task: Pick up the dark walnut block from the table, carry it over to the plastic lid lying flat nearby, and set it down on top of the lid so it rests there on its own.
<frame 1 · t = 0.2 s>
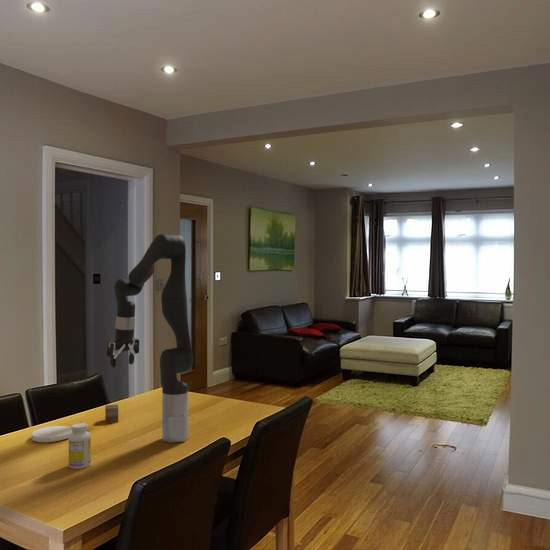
hand: (122, 365, 220), 22 cm above the table, tool pointing down, fingers open, 8 cm apart
supplement bottle: (79, 466, 169), on the table
plastic lid: (52, 439, 197), on the table
walnut block: (111, 421, 218), on the table
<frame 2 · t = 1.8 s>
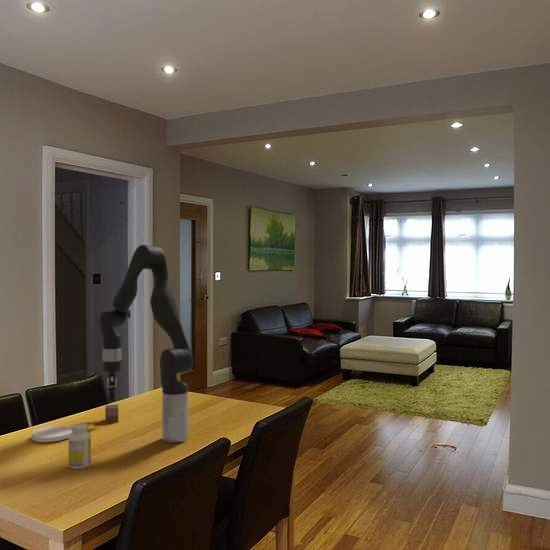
hand: (111, 398, 218), 9 cm above the table, tool pointing down, fingers open, 8 cm apart
nothing on the table moved.
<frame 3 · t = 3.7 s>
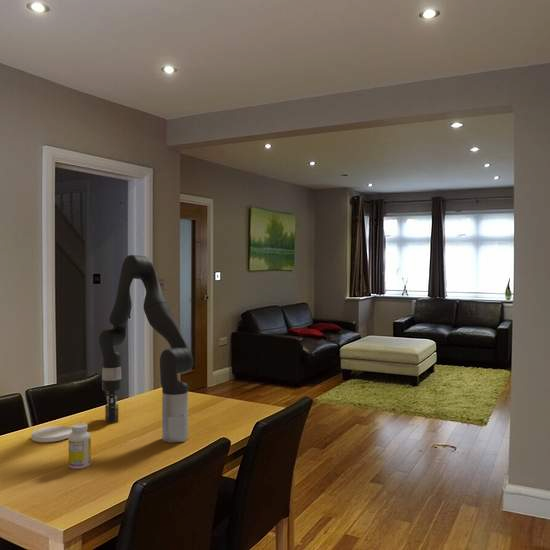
hand: (111, 419, 218), 1 cm above the table, tool pointing down, fingers closed on walnut block, 5 cm apart
walnut block: (111, 420, 218), on the table, touching gripper
everything else where it was.
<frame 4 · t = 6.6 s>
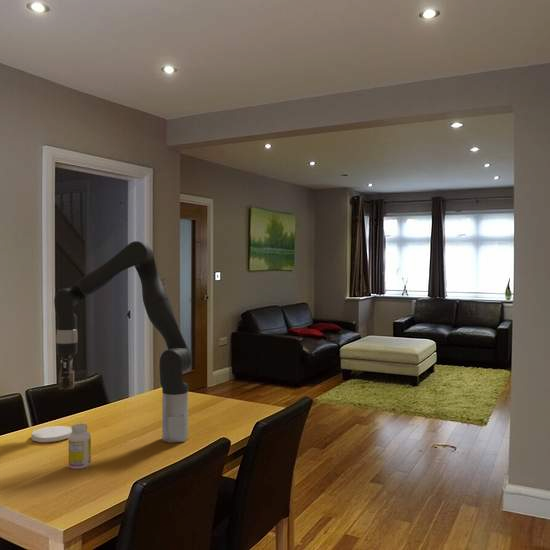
hand: (66, 385, 202), 18 cm above the table, tool pointing down, fingers closed on walnut block, 5 cm apart
walnut block: (66, 387, 202), point 17 cm above the table, touching gripper
everything else where it was.
when the fingers open (5 cm above the table, at t = 9.6 s): walnut block drops 2 cm, resting on plastic lid.
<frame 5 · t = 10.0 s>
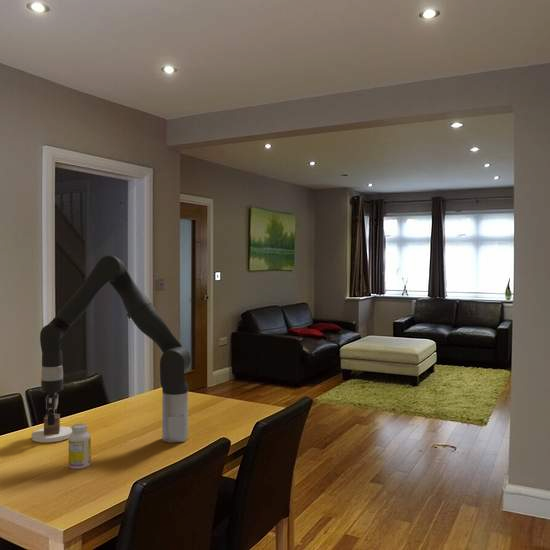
hand: (52, 421, 196), 6 cm above the table, tool pointing down, fingers open, 8 cm apart
plastic lid: (52, 439, 197), on the table, touching walnut block
walnut block: (52, 432, 196), point 2 cm above the table, touching plastic lid
everything else where it was.
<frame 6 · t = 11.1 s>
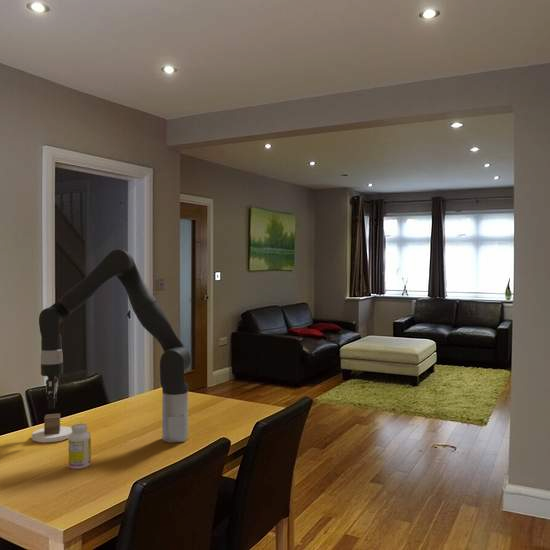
hand: (52, 405, 196), 12 cm above the table, tool pointing down, fingers open, 8 cm apart
nothing on the table moved.
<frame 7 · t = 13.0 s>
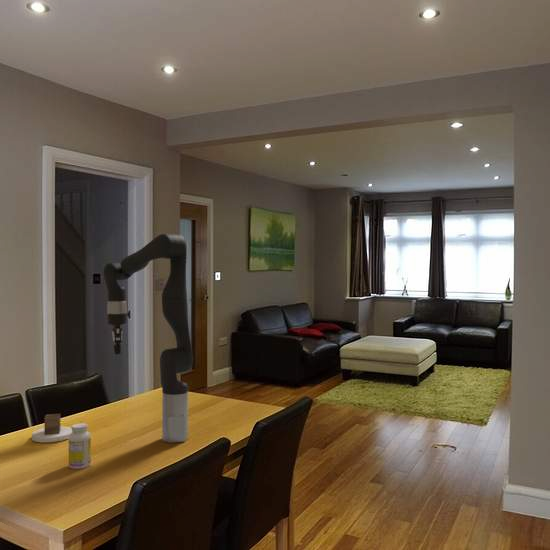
hand: (117, 352, 216), 28 cm above the table, tool pointing down, fingers open, 8 cm apart
nothing on the table moved.
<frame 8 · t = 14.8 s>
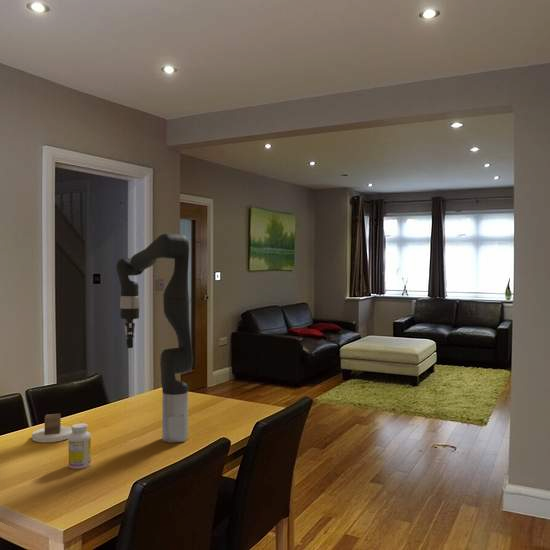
hand: (129, 346, 220), 30 cm above the table, tool pointing down, fingers open, 8 cm apart
nothing on the table moved.
at the end: walnut block touching plastic lid; the gripper is holding nothing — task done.
